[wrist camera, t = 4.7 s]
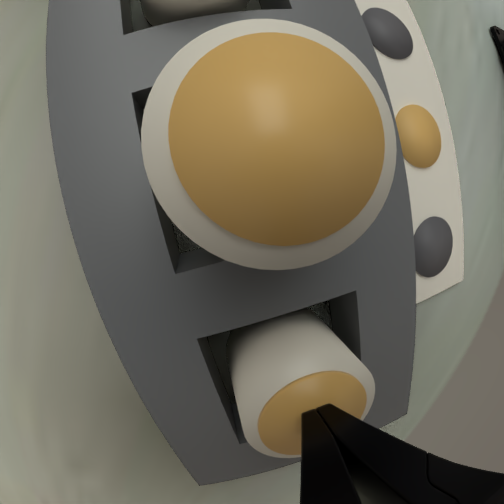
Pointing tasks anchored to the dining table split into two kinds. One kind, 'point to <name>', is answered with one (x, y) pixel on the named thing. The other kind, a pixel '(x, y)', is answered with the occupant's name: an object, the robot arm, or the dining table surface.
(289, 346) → the button
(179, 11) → the button
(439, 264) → the card
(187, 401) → the board
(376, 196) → the button
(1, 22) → the dining table surface
